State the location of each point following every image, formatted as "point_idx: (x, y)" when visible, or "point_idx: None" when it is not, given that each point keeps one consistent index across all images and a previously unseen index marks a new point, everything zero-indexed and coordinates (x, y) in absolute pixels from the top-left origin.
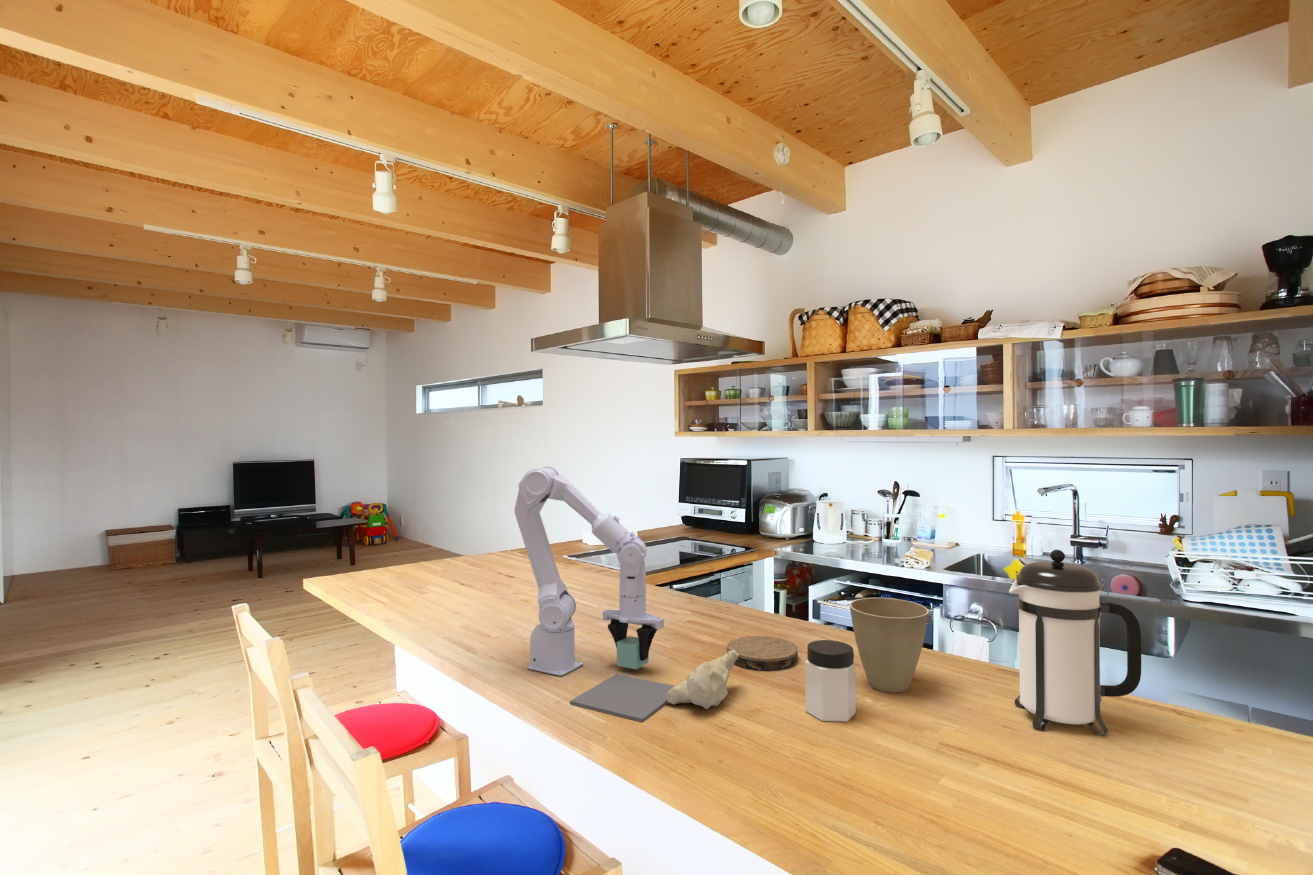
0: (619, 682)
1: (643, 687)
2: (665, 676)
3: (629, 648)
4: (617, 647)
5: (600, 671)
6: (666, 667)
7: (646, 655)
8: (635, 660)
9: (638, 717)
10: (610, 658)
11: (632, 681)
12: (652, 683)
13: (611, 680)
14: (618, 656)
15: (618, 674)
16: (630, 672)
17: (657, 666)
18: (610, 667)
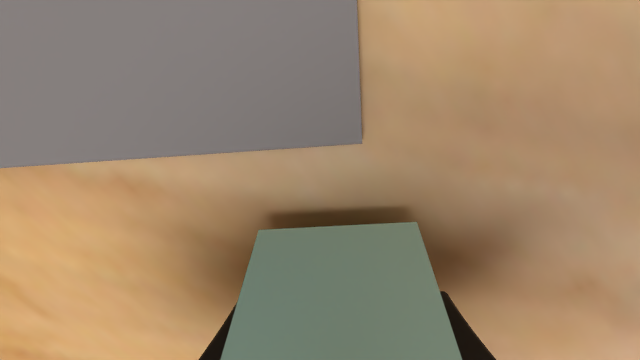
0: (230, 13)
1: (26, 36)
2: (133, 270)
3: (304, 335)
4: (441, 320)
5: (511, 148)
6: None
7: None
8: (258, 269)
9: None
10: (550, 320)
11: (172, 86)
12: (51, 131)
13: (311, 13)
14: (414, 264)
15: (339, 135)
16: None
17: None
18: (482, 227)
